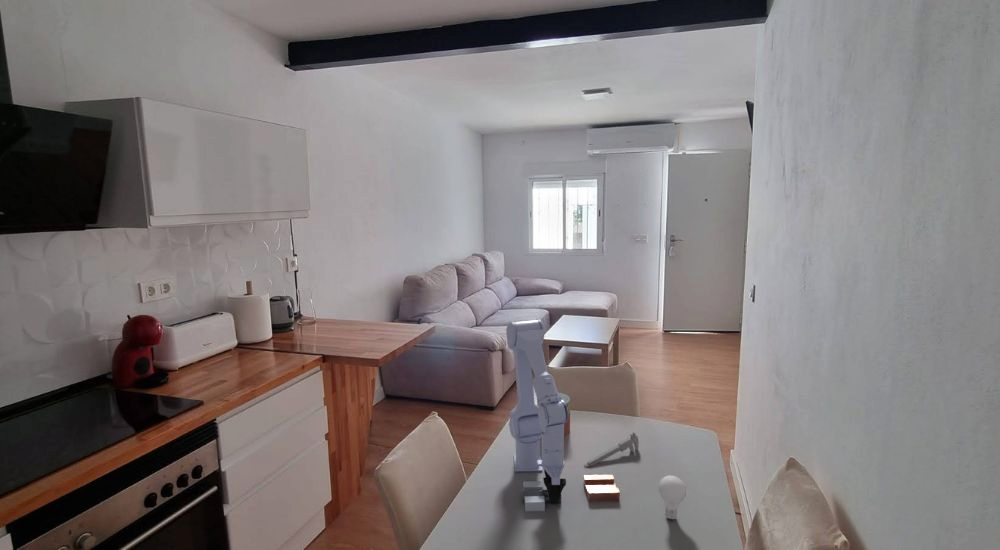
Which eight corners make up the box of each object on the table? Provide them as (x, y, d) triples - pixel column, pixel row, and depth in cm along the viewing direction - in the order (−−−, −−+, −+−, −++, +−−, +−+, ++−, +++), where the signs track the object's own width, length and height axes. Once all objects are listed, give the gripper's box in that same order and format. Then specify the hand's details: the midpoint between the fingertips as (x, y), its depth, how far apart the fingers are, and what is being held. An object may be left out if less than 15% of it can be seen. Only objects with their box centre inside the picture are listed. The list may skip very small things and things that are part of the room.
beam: (523, 489, 131) (523, 481, 131) (541, 489, 131) (541, 481, 131) (525, 511, 122) (525, 502, 122) (544, 511, 122) (544, 502, 122)
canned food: (537, 439, 158) (537, 405, 156) (536, 423, 169) (536, 391, 167) (571, 439, 158) (572, 405, 156) (568, 423, 169) (568, 391, 167)
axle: (523, 505, 125) (523, 495, 125) (522, 497, 128) (522, 487, 128) (561, 504, 125) (561, 494, 125) (559, 496, 128) (560, 486, 128)
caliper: (635, 449, 152) (636, 431, 151) (638, 451, 151) (638, 432, 150) (583, 467, 142) (583, 447, 141) (585, 468, 142) (586, 449, 140)
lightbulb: (662, 506, 123) (664, 467, 122) (688, 516, 119) (690, 476, 118) (653, 519, 119) (655, 478, 117) (679, 530, 115) (681, 488, 113)
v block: (583, 483, 134) (583, 475, 133) (612, 483, 134) (612, 474, 133) (589, 501, 126) (589, 492, 126) (619, 501, 126) (619, 492, 126)
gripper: (535, 432, 132) (535, 478, 134) (539, 461, 117) (539, 511, 119) (560, 432, 132) (560, 477, 134) (568, 461, 117) (568, 511, 119)
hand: (552, 493), depth 127 cm, fingers open, 7 cm apart
